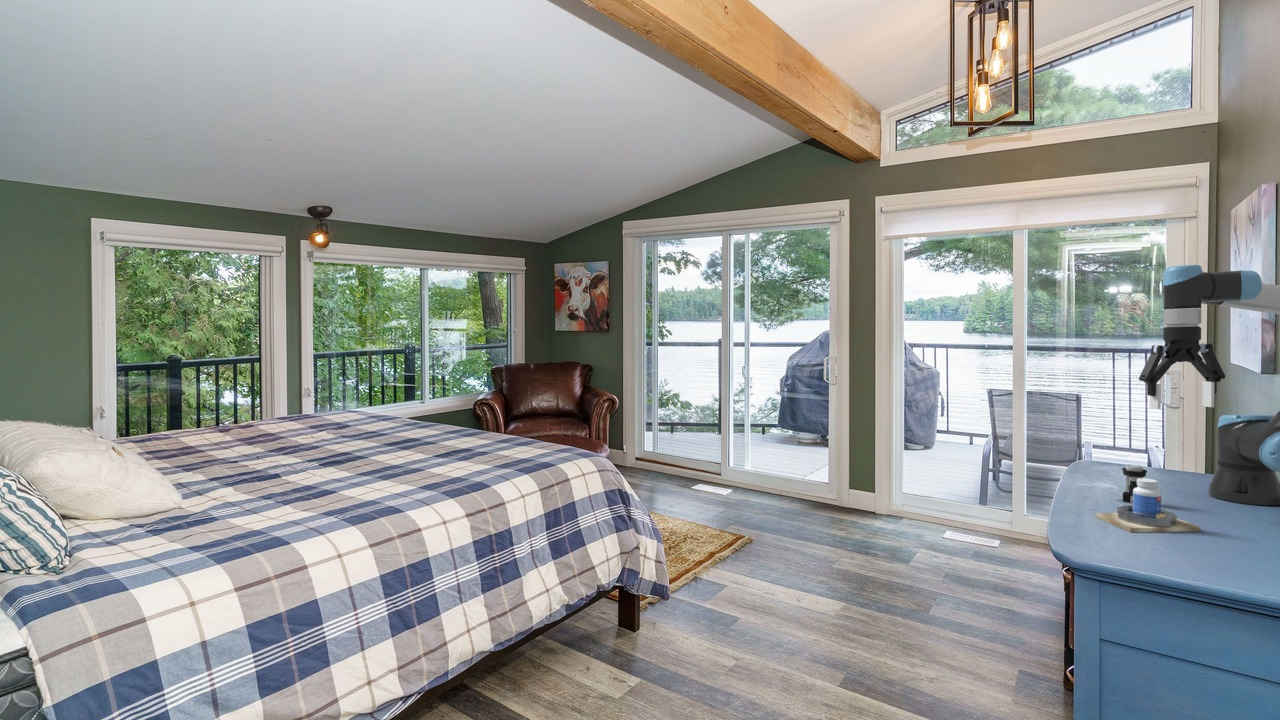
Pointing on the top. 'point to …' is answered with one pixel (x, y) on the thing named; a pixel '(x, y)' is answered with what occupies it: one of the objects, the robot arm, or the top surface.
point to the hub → (1147, 517)
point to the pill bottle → (1146, 497)
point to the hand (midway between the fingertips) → (1181, 407)
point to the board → (1130, 527)
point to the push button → (1131, 481)
